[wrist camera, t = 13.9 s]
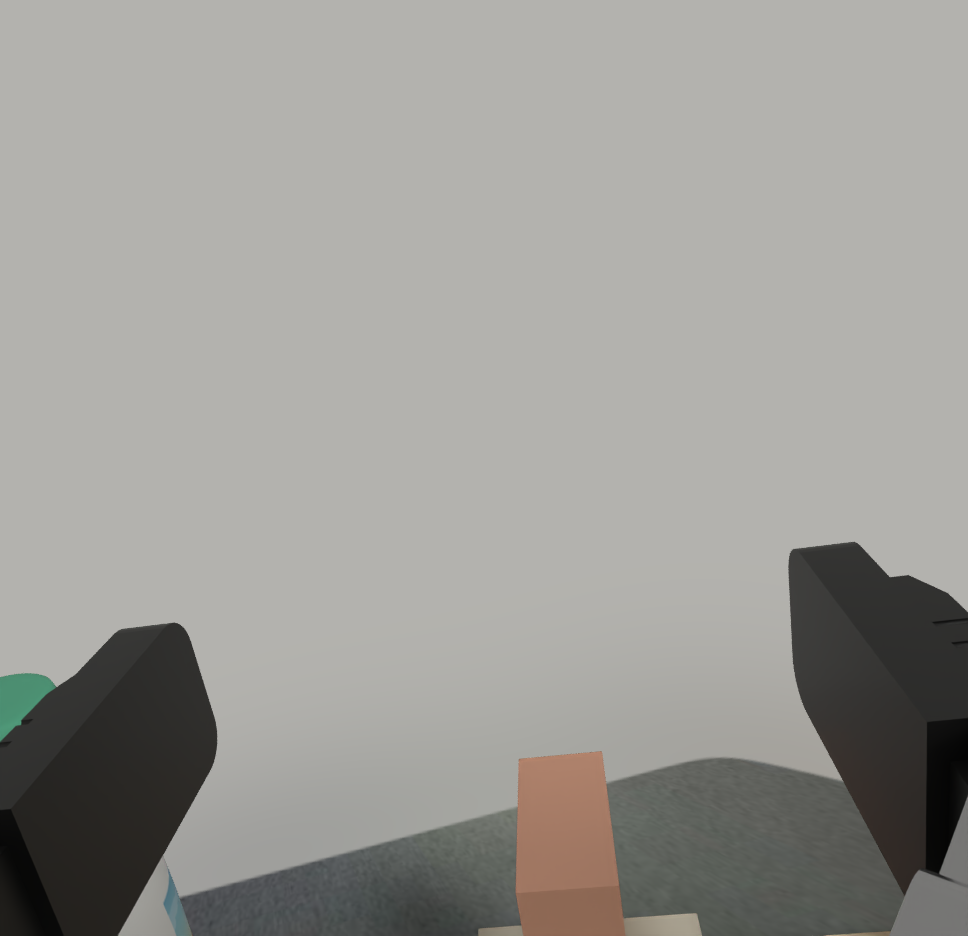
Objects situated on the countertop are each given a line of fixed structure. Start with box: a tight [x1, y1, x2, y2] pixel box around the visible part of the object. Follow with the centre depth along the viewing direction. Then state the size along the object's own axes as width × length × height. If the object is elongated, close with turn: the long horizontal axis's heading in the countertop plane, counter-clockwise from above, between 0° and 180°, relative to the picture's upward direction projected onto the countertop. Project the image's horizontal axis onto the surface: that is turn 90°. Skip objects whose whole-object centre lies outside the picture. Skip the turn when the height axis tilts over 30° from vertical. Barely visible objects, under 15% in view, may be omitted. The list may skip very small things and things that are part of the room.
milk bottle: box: [0, 673, 193, 936], centre depth 30 cm, size 8×8×20 cm
